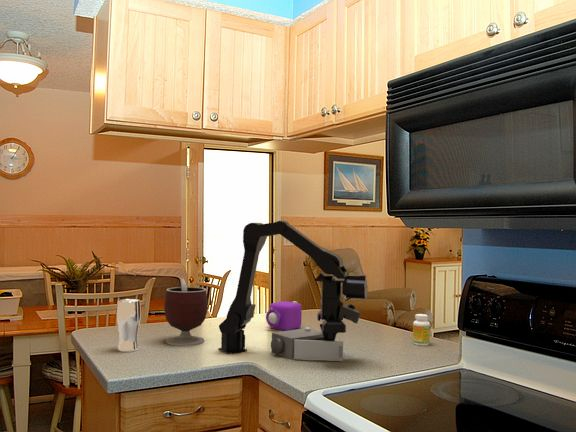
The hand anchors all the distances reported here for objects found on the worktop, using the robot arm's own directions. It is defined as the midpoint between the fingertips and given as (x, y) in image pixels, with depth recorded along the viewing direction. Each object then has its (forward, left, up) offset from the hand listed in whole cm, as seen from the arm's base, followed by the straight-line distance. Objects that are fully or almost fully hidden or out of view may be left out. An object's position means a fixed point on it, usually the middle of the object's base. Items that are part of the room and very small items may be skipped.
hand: (330, 350), depth 163 cm
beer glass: (-44, +42, -3) cm, 61 cm away
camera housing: (-3, +11, -3) cm, 12 cm away
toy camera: (+16, +44, -3) cm, 47 cm away
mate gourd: (-24, +44, -3) cm, 51 cm away
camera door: (-4, 0, -2) cm, 5 cm away
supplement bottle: (+40, -1, -3) cm, 40 cm away
